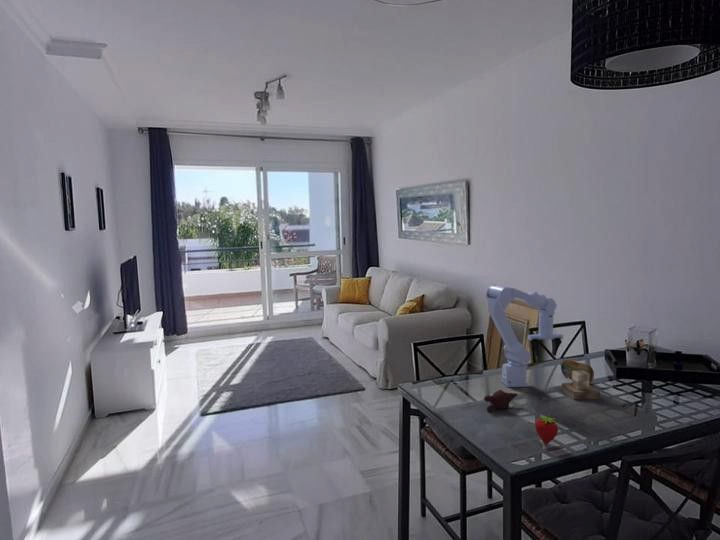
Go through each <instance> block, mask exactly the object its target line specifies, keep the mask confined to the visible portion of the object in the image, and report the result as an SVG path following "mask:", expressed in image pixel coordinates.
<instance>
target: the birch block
mask: <svg viewBox="0 0 720 540" xmlns="http://www.w3.org/2000/svg"><path fill="white" fill-rule="evenodd" d="M589 375H590V374H588V373H587V372H585V371H572V380H571V383H572V386H573V387H575V388H576V389H578V390H579V389H589V385H590V383H589Z"/></svg>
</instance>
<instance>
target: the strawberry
mask: <svg viewBox="0 0 720 540" xmlns="http://www.w3.org/2000/svg"><path fill="white" fill-rule="evenodd" d="M549 416H550V413H548V414H547V416H546V415H545V416H543V415H542V416H540V415H539V417H540V418H537V419H536V420H535V423H534V427H535V432H536V433H537V435H538V437H539V438H540V439H541V441H542V443H543V444H544V445H548V444H549V443H551V442H552V441H554V439H555V438H556V437H557V435H558V432H559V428H558V427H559V426H558V425H557V423H556V421H555V420H556V418H552V417H549Z"/></svg>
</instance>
